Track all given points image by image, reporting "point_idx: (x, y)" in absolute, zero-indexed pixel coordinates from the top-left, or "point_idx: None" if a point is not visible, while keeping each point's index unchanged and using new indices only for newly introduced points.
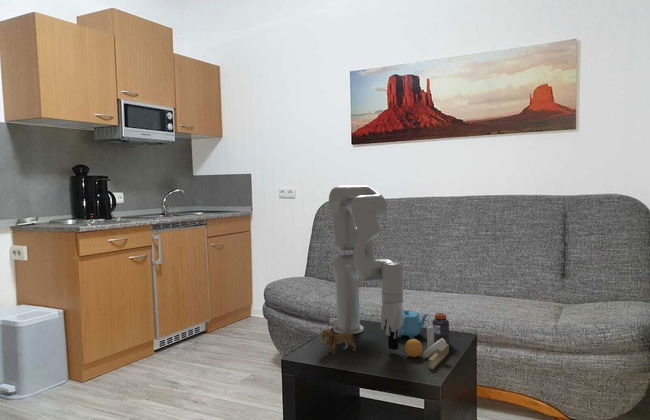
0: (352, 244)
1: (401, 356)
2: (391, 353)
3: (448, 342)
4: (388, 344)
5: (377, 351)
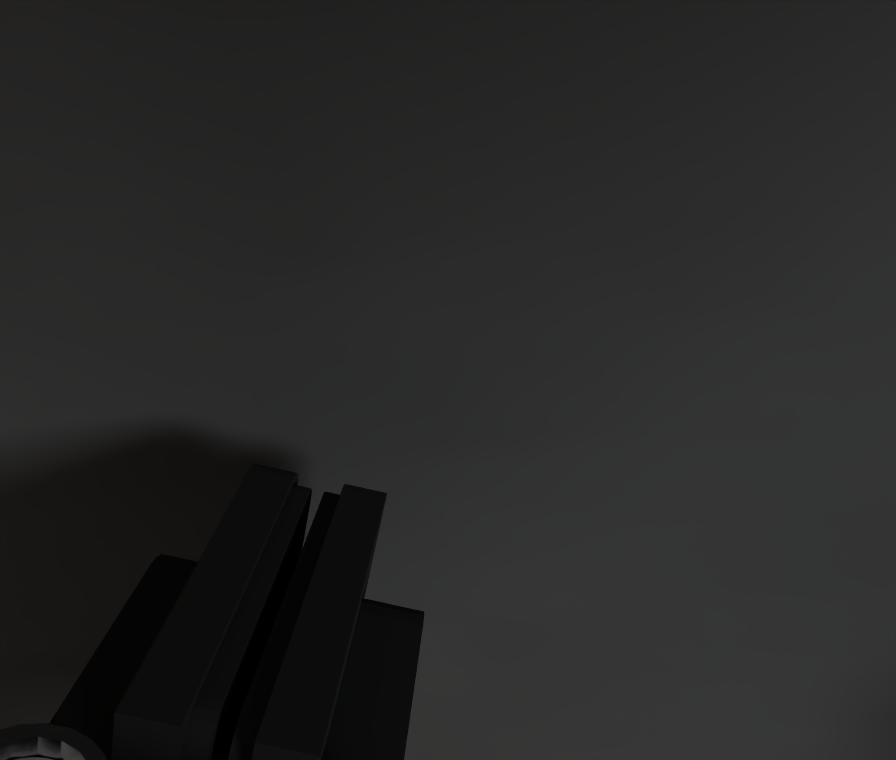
0: None
1: None
2: None
3: None
4: (217, 530)
5: (304, 72)
